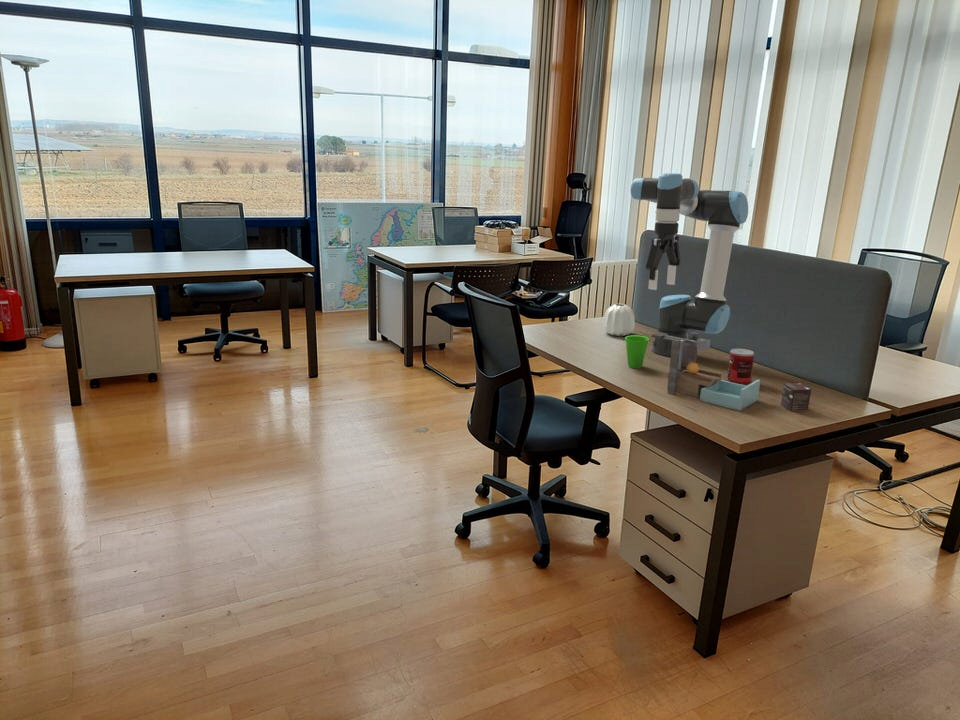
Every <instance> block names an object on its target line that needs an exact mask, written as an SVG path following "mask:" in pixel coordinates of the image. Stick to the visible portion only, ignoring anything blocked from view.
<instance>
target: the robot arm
mask: <svg viewBox="0 0 960 720" xmlns="http://www.w3.org/2000/svg"><path fill="white" fill-rule="evenodd" d="M630 196H631V197H632V199H634V200H639V201H648V202H650V203H654V204H656V206H655V207H656V211H655V221H656V222H655V223H654V234H656V235H657V238H652V240H651V246H650V251H649V252H648V253H649V255H648V257H647V261H646V264H645V268H646V270H649V273H648V274H649V275H648V276H649V277H648V287H647V288H648V290H653V291H657V290H658V279H659V269H658V268H659V265H660V262H661V260H662V258H663V255H664V253H665V254H666V256H667V260H668V263H669V265H667V274H666V275H667V276H666V285H671V286H675V285H676V274H677V273H676V272H677V266H680V265H681V254H680V246H679V240H680V239H679V237H680V236H679V235H678V233H679V225H680V224H679V223H678V222H679V221H680V215H682V216H686V217H687V218H691V219H693V220H698V221H703V222H707V227H708V229H710V234H709V239H708V244H707V245H708V246H707V250H706V256H705V261H704V268H703V274H702V280H701V284H700V285H701V286H700V291H699V293H698V294H696V295H695V297H694V300H693V299H692V296H691V295H689V294H673V295H672V294H671V295H666V296H663V297H662V298H661V299H660V302H659V303H660V304H659V307H658V308H659V311H658V312H659V313H658V324H657V333H658V332H661V333H667V334H668V336H673V337H679V338H684V339H686V338H688V337H689V336H688V331H689V330H691V331H693V332H695V331H696V332H700V333H701V332H702V333H705V334H713V335H716V334H719V333H721V332H723V330H724V329H725V328H726V326H727V324H728V322H729V319H730V316H731V307H730V306H729V305H728V304H727V299H726V297H725V296H724V291H725V287H726V281H727V275H728V270H729V265H730V259H731V253H732V247H733V241H734V236H735V233H736V232H737V231H738V230H739V229H740V226H741V224H742V225H743V224H744V223H746V222H747V219H748V215H749V202H748V198H747V196H746V194H745V193H743V192H741V191H738V190H737V191H735V190H708V189H701V190H700V188H699V185H698V182H697V181H696V180H695V179H692V178H689V177H688V178H686V177H685V178H683V175H682V173H677V172H676V173H675V172H673V173H668V172H667V173H661V174H660V175H659V176H658V178H655V177H653V178H652V177H636V178H635V179H632V183H631V184H630ZM671 348H672V340H668V339H663V338H662V339H660V338H655V337H654V339H653V343H652V346H651V351H652V352H653V353H655V354H657V355H660V356H661V355H662V356H667V357H671Z"/></svg>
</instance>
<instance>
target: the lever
mask: <svg viewBox="0 0 960 720" xmlns="http://www.w3.org/2000/svg"><path fill="white" fill-rule="evenodd" d="M690 336H691V335H690ZM690 336H688V338H686V339H684V338H679V337H673V336H668V334H667V333H661V332H658V331H657V332H655V333H653V334H651V338H654V339H655V338H660V339H662V338H663V339H668V340H673V339H675V340H680V341H681V342H680V353H679V364H678V371H679V372H682V371H684V370H686V368H687V365H688V358H689V348H690V344H693V345H697V350H700V351H707V350H709V349H710V347H711V339H707V338H698V341H694V339H695V337H694V336H691V337H690Z"/></svg>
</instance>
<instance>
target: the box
mask: <svg viewBox="0 0 960 720" xmlns="http://www.w3.org/2000/svg"><path fill="white" fill-rule="evenodd" d="M811 392H812V389H811V388H810V387H809V386H807V385H805V384H803V383H802V382H799V383H798V382H795V383H794V382H793V383H792V382H791V383H790V382H789V383H783V389H782V394H781V395H782V396H781V402H780V406H782V407H784V408H785V409H787V410H788V411H790V412H803V411H804V412H806V411H809V406H810V399H811V394H812V393H811Z"/></svg>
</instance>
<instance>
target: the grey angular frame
mask: <svg viewBox="0 0 960 720" xmlns="http://www.w3.org/2000/svg"><path fill="white" fill-rule="evenodd" d="M691 336H694V337H695V339H694V341H698V340H699V339H700V337H699V336H700V333H699V332H695V331H691V332H690V336H689V337H691ZM680 342H681V341H680V340H675V339H673V340H672V348H671V356H670V358H669V359H670V360H669V362H670V363H669V370H668V371H669V372H668V374H667V375H668V377H667V394H670V395H676V394H677V393H680V394H684V395H689V396H692V397H696V398H698V397H700V394H701V389H702V388H704V387H706V386H709V387H711V386H713V385H715V384H717V383H718V382H720V381H721V380H722V375H723V374H722V373H719V372H718V373H717V372H715V371H709V370H705V369H700V368H699V370H698V372H697V373H696V374H689V373H688V372H687V370H684V371H682V372H679V371H678V364H679V353H680ZM697 355H698V349H697V345H693V344H690V348H689V358H688V364H689V363H696V364H697V357H698V356H697Z"/></svg>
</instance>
